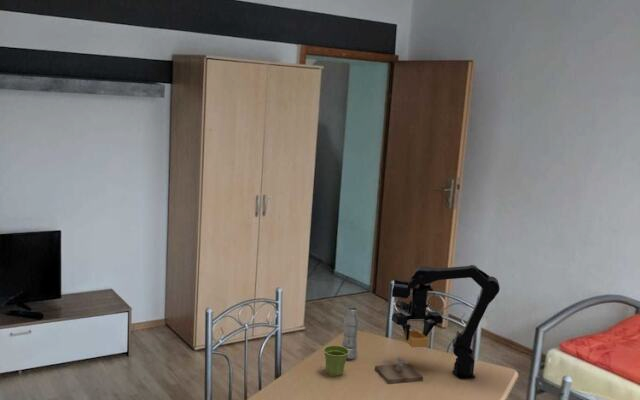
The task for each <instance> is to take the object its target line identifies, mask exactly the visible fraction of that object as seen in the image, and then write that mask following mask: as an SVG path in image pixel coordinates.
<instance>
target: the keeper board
mask: <svg viewBox="0 0 640 400" xmlns="http://www.w3.org/2000/svg"><path fill="white" fill-rule="evenodd" d="M403 362H404V359H403V357H402V356H398V357H397V358H396V364H385V365H383V364H381V365H374V370H375V372H376V373H377V374H378V375H379V376H380V377H381V378H382V379H383V381H384V382H386V383H387V385H389V384H390V383H391V384H401V383H412V382H413V383H414V382H415V383H416V382H423V381H424V376H423V374H421V373H420V372H418V370H417V369H416V368H414V367H413V366H412V365H411V364H410V363H403ZM391 384H390V385H391Z"/></svg>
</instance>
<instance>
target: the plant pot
mask: <svg viewBox="0 0 640 400" xmlns="http://www.w3.org/2000/svg"><path fill="white" fill-rule="evenodd" d="M323 353H324V357H325V358H324V359H325V368H326V370H325V371H326V373H327V374H328V375H329V376H335V377H338V376H342V375H343V374H344V370H345V366H346V361H347V359H346V358H347V356H348V354H349V350H348V349H347V348H345V347H342V345H327V346H325V347H324V348H323Z"/></svg>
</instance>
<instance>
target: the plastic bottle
mask: <svg viewBox="0 0 640 400" xmlns="http://www.w3.org/2000/svg"><path fill="white" fill-rule="evenodd" d="M357 315H358V308H357V307H354V306H350V307H347V314H346V315H345V317H344V319H343V324H342V325H343V338H342V345H341V346H342V347H345V348H347V349H348V350H349V354H348V356H347V358H346V360H354V359H355V358H356V357H357V356H358V334H359V328H360V324H361V323H360V322H361V321H360V318H359V316H357Z"/></svg>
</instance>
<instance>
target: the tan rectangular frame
mask: <svg viewBox="0 0 640 400" xmlns="http://www.w3.org/2000/svg"><path fill="white" fill-rule="evenodd" d="M401 338H402V339H403V341H405V343H406V344H408V345H409V346H410V347H411V348H425V347H427V348H428V347H429V342H430V339H429V337H428V336H427V337H426V336H425V335H424V334H423V331H422V332H421V331H420V330H419V329H414V330H413V329H410V332H409V338H408V340H406V338H405V334H404V330H402V336H401Z"/></svg>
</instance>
